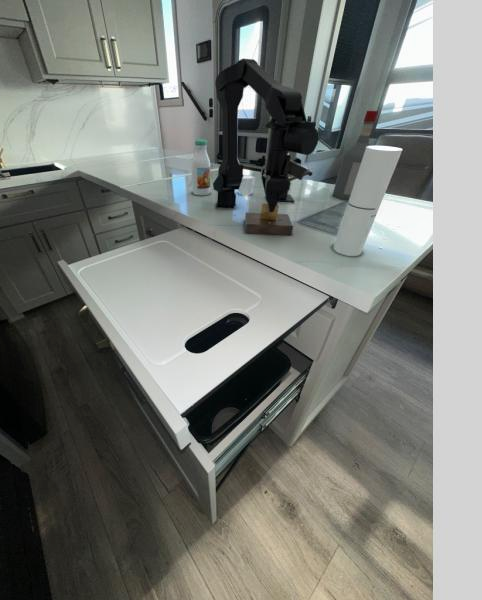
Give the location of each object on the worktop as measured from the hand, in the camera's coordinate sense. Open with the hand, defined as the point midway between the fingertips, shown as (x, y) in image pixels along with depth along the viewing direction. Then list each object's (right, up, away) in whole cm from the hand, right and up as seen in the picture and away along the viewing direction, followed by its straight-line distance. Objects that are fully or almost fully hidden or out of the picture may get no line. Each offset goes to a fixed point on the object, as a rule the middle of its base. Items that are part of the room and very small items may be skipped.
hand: (269, 206), depth 82 cm
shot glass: (-3, +17, +33) cm, 38 cm away
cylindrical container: (+20, -15, -8) cm, 26 cm away
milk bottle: (-22, +17, +34) cm, 44 cm away
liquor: (+39, +14, +30) cm, 51 cm away
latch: (+15, +18, +22) cm, 32 cm away
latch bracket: (+10, +12, +27) cm, 31 cm away
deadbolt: (0, -3, +2) cm, 4 cm away
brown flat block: (0, -5, +4) cm, 7 cm away
